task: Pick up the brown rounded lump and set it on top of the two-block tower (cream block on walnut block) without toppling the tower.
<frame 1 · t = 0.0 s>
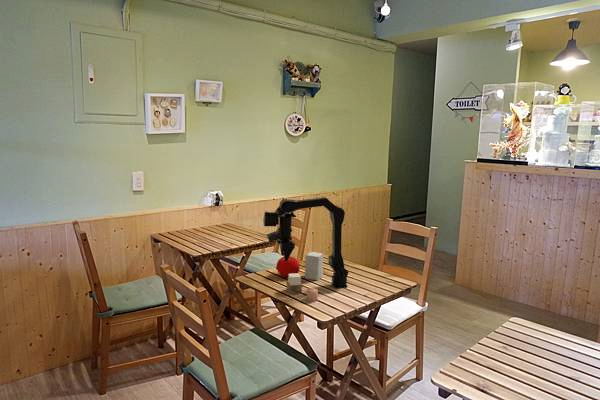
hand: (284, 258, 199), 15 cm above the table, fingers open, 9 cm apart
tomato: (287, 276, 219), on the table
supplement box: (313, 277, 218), on the table
cream block: (294, 283, 197), point 4 cm above the table, touching walnut base block
walnut base block: (294, 291, 198), on the table, touching cream block
brown rounded lump: (311, 299, 188), on the table
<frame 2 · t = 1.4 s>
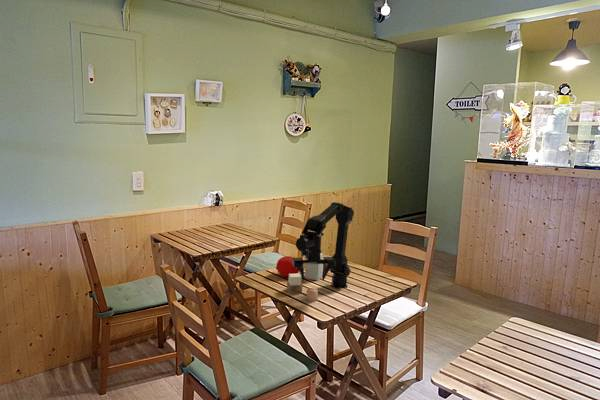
hand: (312, 280, 187), 9 cm above the table, fingers open, 9 cm apart
cream block: (294, 283, 197), point 4 cm above the table
walnut base block: (294, 291, 198), on the table
everything else where it was.
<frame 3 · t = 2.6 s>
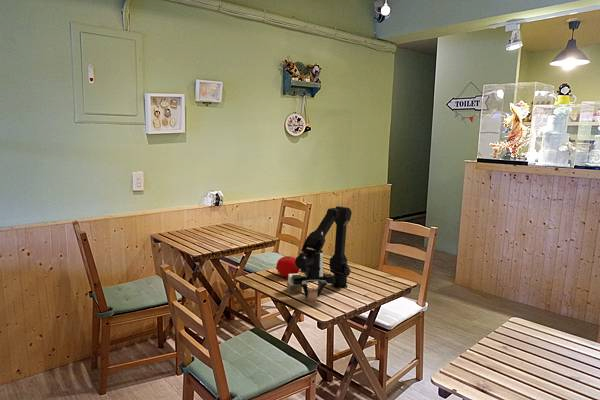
hand: (312, 297, 188), 1 cm above the table, fingers closed on brown rounded lump, 5 cm apart
cream block: (294, 283, 197), point 4 cm above the table, touching walnut base block
walnut base block: (294, 291, 197), on the table, touching cream block
brown rounded lump: (311, 299, 188), on the table, touching gripper
everything else where it was.
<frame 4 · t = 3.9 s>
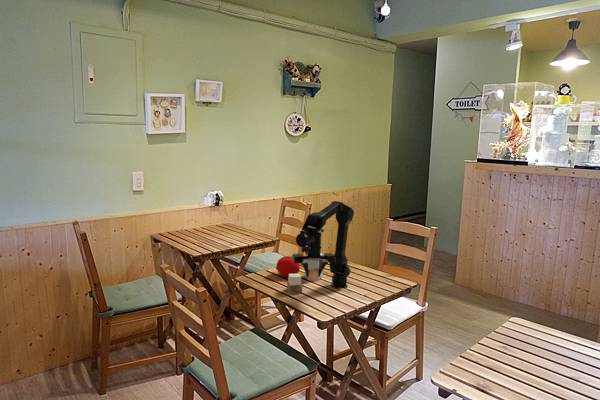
hand: (312, 276, 186), 11 cm above the table, fingers closed on brown rounded lump, 5 cm apart
brown rounded lump: (312, 279, 187), point 10 cm above the table, touching gripper
everything else where it was.
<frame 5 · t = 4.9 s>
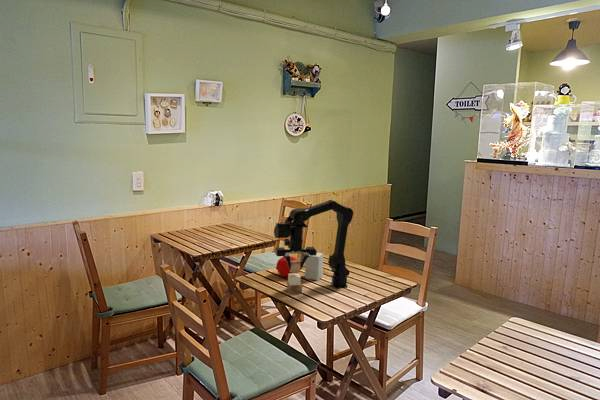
hand: (295, 269, 196), 11 cm above the table, fingers closed on brown rounded lump, 5 cm apart
brown rounded lump: (295, 271, 196), point 10 cm above the table, touching gripper
everything else where it was.
when the fingers open (10 cm above the table, at t = 5.5 s): brown rounded lump drops 1 cm, resting on cream block.
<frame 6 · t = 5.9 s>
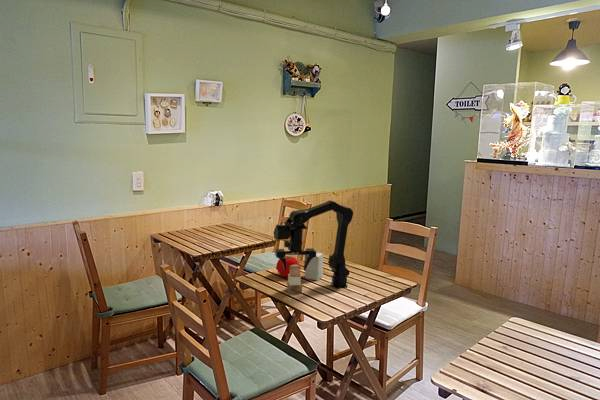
hand: (294, 270, 196), 10 cm above the table, fingers open, 9 cm apart
cream block: (294, 283, 197), point 4 cm above the table, touching brown rounded lump, walnut base block
brown rounded lump: (294, 275, 196), point 8 cm above the table, touching cream block
everything else where it was.
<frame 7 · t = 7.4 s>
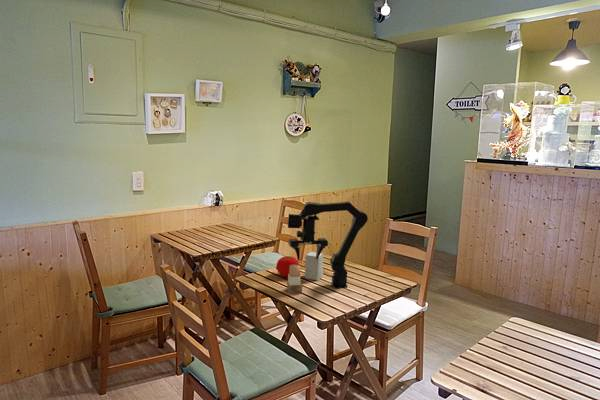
hand: (307, 259, 205), 13 cm above the table, fingers open, 9 cm apart
nothing on the table moved.
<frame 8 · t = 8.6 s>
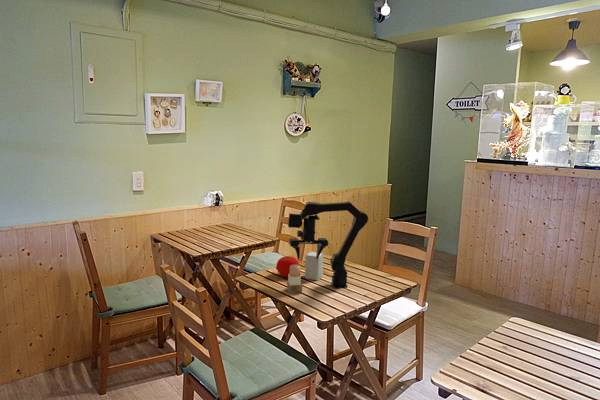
hand: (307, 259, 205), 13 cm above the table, fingers open, 9 cm apart
cream block: (294, 283, 197), point 4 cm above the table, touching brown rounded lump
walnut base block: (294, 291, 197), on the table
everything else where it was.
at the end: brown rounded lump 0.1 cm off-centre on the cream block, point 4.0 cm above the cream block's base; cream block tilted 0°; walnut base block moved 0.2 cm from its start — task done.
